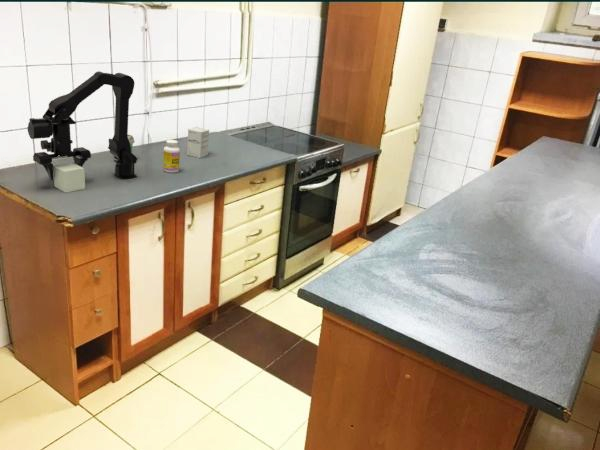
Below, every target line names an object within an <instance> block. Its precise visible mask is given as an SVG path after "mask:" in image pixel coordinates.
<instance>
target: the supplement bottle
mask: <svg viewBox="0 0 600 450" xmlns="http://www.w3.org/2000/svg"><path fill="white" fill-rule="evenodd" d="M165 142H166V143H165V145H166V146H164V147H163V157H162V161H163V162H162V163H163V164H162V169H163V172H166V173H169V174H170V173H177V172H179V171H180V157H181V156H180V155H181V149H180V148H179V147H178V144H179V141H178V140H176V139H167V140H166V141H165Z"/></svg>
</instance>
